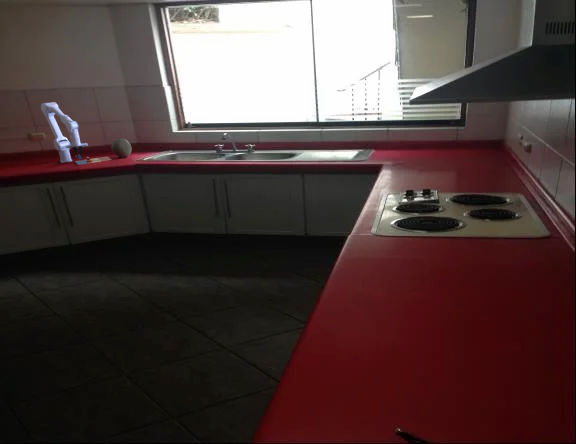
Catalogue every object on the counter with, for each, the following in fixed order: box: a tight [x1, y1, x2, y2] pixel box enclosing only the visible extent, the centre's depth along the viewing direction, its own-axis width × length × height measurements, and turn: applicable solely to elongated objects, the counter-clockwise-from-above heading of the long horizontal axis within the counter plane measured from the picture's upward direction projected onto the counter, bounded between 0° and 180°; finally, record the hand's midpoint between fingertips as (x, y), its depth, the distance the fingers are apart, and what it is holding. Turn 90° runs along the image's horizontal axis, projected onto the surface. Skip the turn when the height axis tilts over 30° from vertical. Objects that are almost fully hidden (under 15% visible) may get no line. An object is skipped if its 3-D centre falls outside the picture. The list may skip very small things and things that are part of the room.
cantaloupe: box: [111, 138, 132, 159], centre depth 321 cm, size 14×14×15 cm
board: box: [74, 156, 113, 166], centre depth 318 cm, size 16×24×1 cm, turn 123°
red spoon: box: [86, 156, 93, 164], centre depth 316 cm, size 11×4×3 cm, turn 33°
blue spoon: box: [75, 153, 82, 160], centre depth 313 cm, size 11×4×3 cm, turn 33°
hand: (79, 156), depth 312 cm, fingers closed on blue spoon
